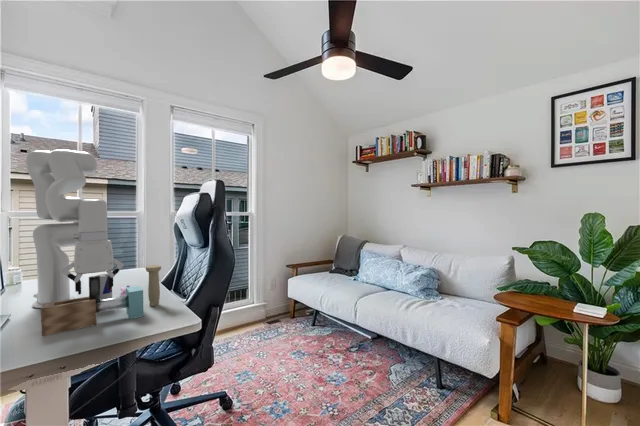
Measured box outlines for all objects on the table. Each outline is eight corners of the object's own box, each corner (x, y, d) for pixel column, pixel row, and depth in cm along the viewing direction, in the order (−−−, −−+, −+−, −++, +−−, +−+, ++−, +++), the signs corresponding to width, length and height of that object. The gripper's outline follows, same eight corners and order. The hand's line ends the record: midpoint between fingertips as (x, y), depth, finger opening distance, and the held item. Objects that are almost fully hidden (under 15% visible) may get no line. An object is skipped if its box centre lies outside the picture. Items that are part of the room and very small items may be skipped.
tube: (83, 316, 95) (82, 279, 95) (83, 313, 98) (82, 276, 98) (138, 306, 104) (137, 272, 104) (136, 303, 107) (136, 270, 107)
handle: (150, 308, 111) (149, 268, 111) (144, 305, 116) (144, 266, 115) (163, 305, 115) (163, 266, 114) (158, 302, 119) (157, 264, 119)
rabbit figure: (139, 302, 123) (133, 289, 135) (139, 289, 122) (133, 277, 134) (121, 306, 119) (116, 292, 131) (121, 292, 118) (116, 279, 130)
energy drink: (115, 305, 115) (114, 274, 115) (100, 309, 111) (99, 277, 110) (107, 303, 118) (106, 273, 118) (91, 308, 113) (91, 276, 113)
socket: (129, 318, 101) (129, 292, 101) (126, 312, 107) (125, 287, 107) (143, 316, 104) (143, 290, 103) (139, 310, 110) (139, 285, 110)
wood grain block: (41, 336, 88) (41, 308, 88) (43, 329, 93) (42, 303, 92) (96, 324, 96) (95, 299, 96) (95, 319, 101) (94, 295, 101)
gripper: (57, 240, 90) (59, 299, 90) (126, 236, 101) (127, 288, 101) (58, 238, 95) (60, 293, 96) (123, 234, 106) (124, 284, 107)
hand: (94, 290), depth 98 cm, fingers open, 7 cm apart
